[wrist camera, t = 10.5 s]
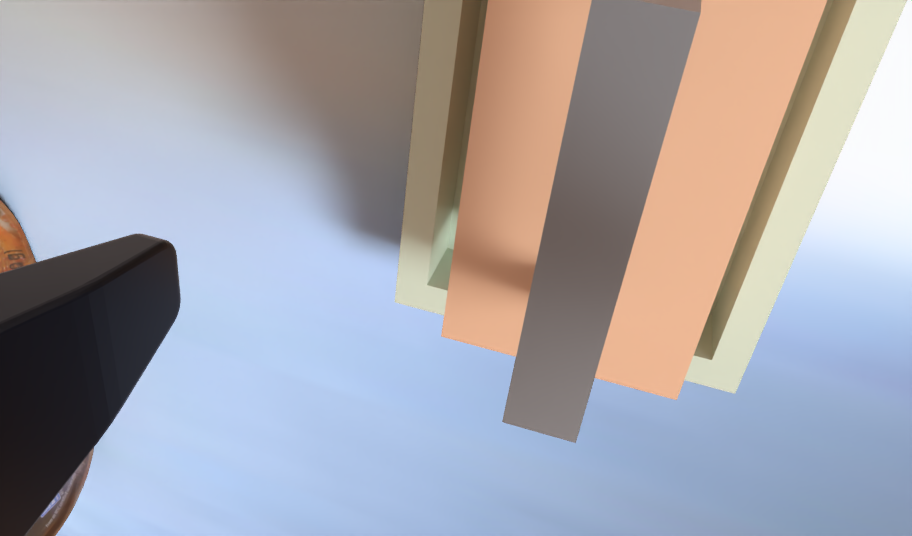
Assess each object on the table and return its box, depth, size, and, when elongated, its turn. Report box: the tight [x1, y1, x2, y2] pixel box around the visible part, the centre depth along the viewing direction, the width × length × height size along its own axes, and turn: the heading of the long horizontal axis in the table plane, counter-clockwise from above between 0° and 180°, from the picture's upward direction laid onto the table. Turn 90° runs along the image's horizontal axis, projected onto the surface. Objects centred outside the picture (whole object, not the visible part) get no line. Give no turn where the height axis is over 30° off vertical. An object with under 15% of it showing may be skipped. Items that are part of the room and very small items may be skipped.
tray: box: [395, 0, 907, 393], centre depth 17 cm, size 9×14×2 cm, turn 172°
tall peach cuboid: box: [441, 0, 827, 443], centre depth 14 cm, size 5×10×9 cm, turn 173°
